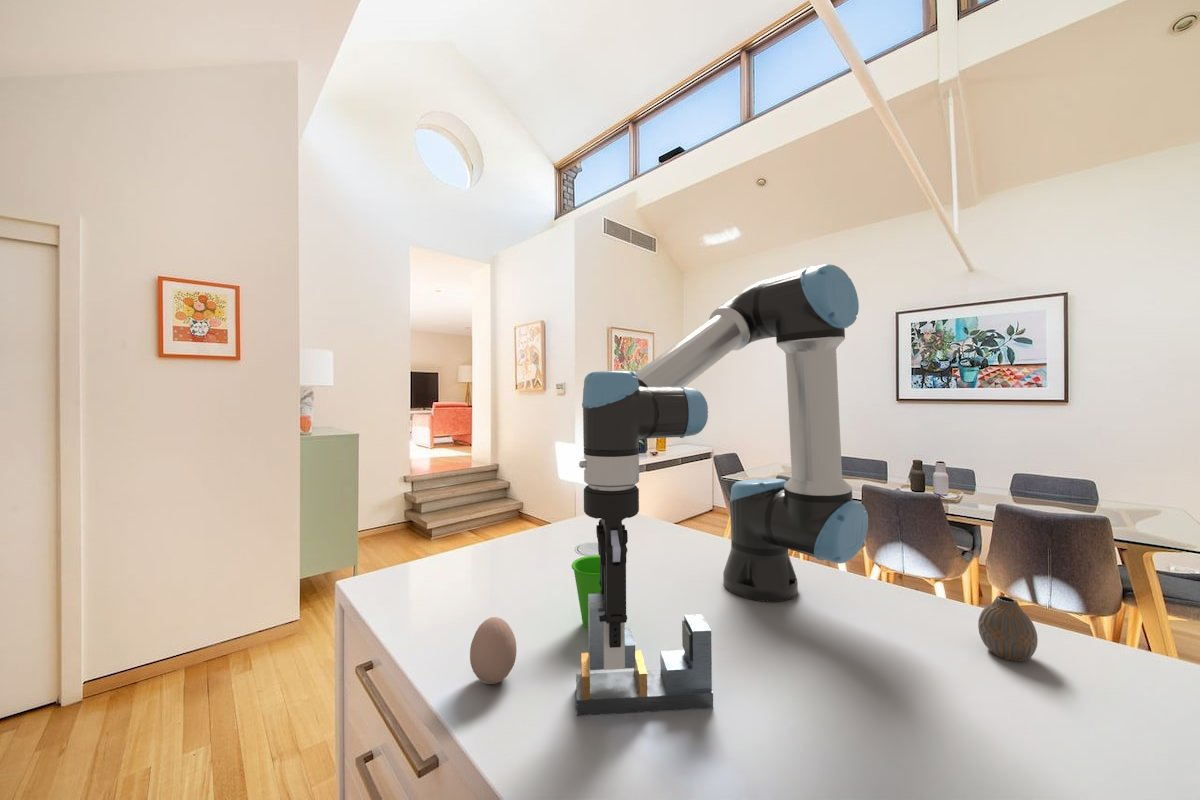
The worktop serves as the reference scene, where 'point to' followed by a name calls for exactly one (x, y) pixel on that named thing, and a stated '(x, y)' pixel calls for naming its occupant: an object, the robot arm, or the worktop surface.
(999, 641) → the vase
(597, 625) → the l-shaped step block
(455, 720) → the worktop surface
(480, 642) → the egg
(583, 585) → the cup
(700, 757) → the worktop surface
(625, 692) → the rail
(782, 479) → the robot arm
